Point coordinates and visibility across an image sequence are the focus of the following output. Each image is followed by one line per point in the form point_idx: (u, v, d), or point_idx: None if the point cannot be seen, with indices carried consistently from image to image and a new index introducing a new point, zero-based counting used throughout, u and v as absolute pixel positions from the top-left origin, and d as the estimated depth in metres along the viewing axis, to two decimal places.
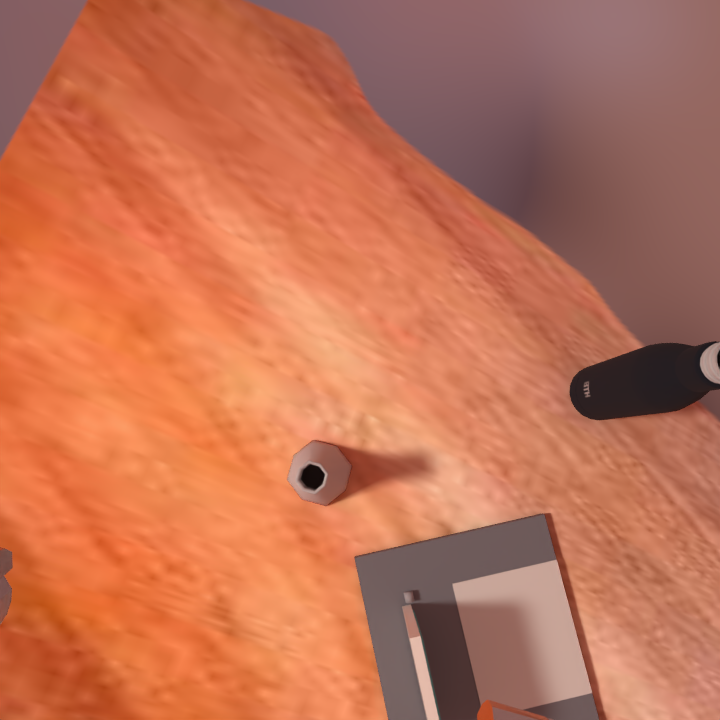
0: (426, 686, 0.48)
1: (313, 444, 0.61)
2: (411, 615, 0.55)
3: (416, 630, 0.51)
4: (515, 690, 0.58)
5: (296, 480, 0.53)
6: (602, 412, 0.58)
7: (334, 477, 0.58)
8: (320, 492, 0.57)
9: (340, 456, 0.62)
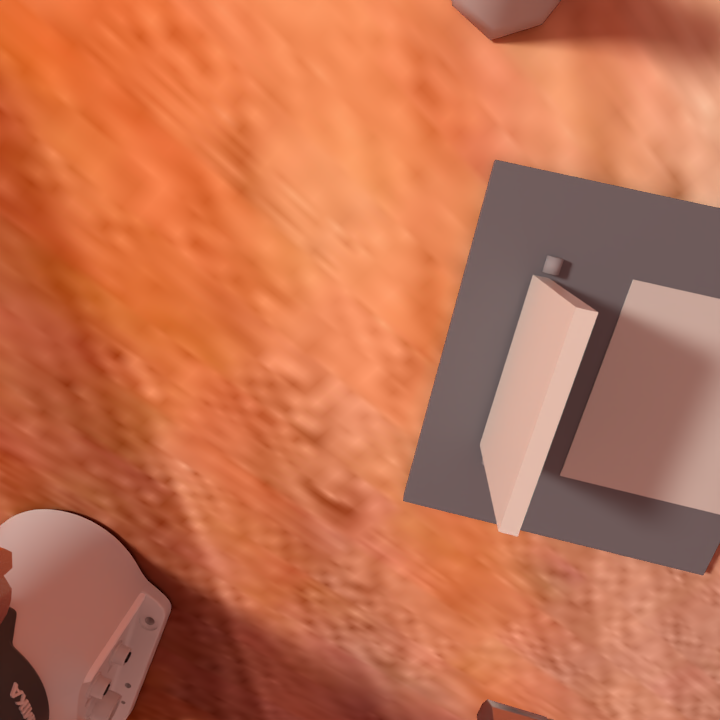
0: (557, 397, 0.25)
1: None
2: (559, 287, 0.30)
3: (583, 304, 0.25)
4: (627, 464, 0.36)
5: None
6: None
7: None
8: None
9: None
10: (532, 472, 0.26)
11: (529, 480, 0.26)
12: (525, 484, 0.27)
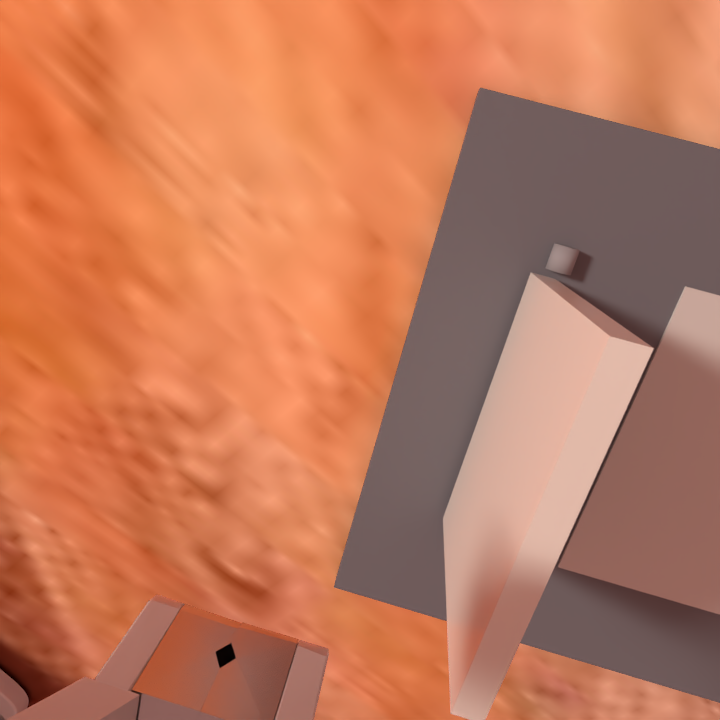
0: (564, 501, 0.13)
1: None
2: (572, 294, 0.18)
3: (620, 328, 0.14)
4: (658, 558, 0.25)
5: None
6: None
7: None
8: None
9: None
10: (512, 625, 0.15)
11: (506, 637, 0.15)
12: (499, 643, 0.15)
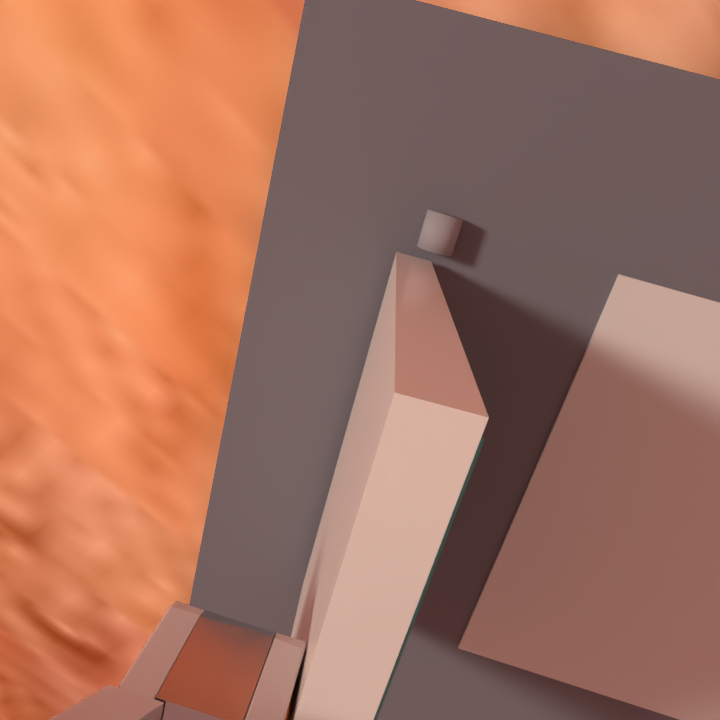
0: (344, 696, 0.07)
1: None
2: (429, 286, 0.11)
3: (454, 359, 0.07)
4: (589, 642, 0.18)
5: None
6: None
7: None
8: None
9: None
10: None
11: None
12: None
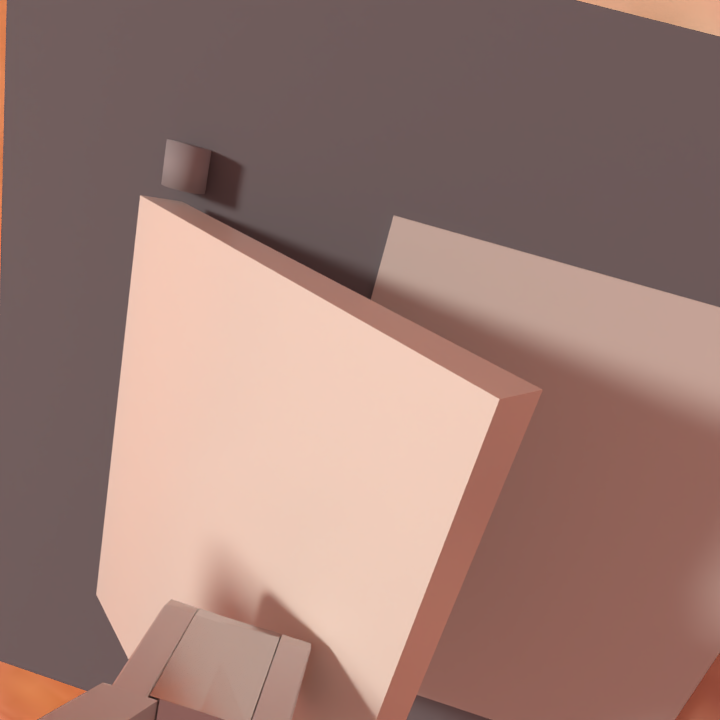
0: (419, 654, 0.08)
1: None
2: (255, 244, 0.10)
3: (434, 338, 0.07)
4: None
5: None
6: None
7: None
8: None
9: None
10: None
11: None
12: None
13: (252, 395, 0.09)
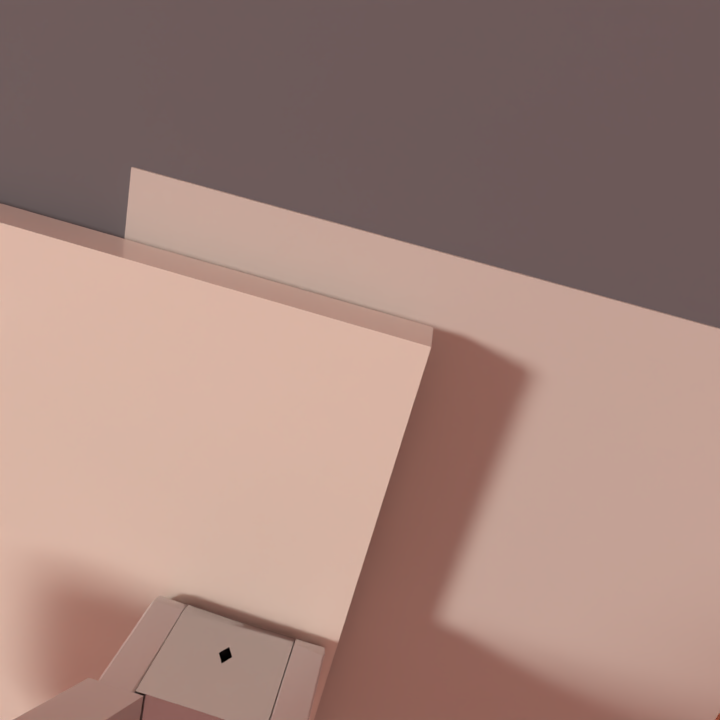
0: None
1: None
2: (21, 214, 0.08)
3: (322, 299, 0.08)
4: None
5: None
6: None
7: None
8: None
9: None
10: None
11: None
12: None
13: (96, 403, 0.08)
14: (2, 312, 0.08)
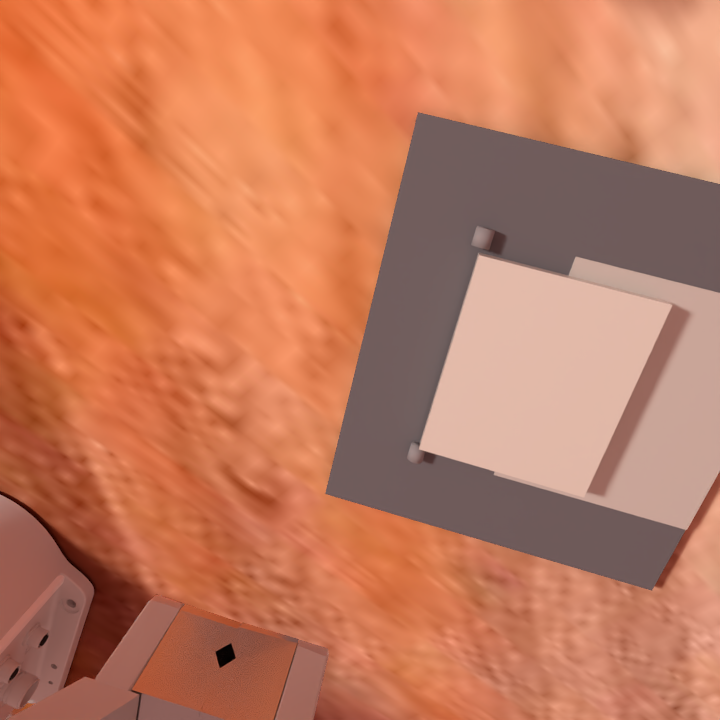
0: None
1: None
2: (548, 271, 0.28)
3: (635, 293, 0.28)
4: None
5: None
6: None
7: None
8: None
9: None
10: None
11: None
12: None
13: (570, 323, 0.28)
14: (548, 298, 0.28)
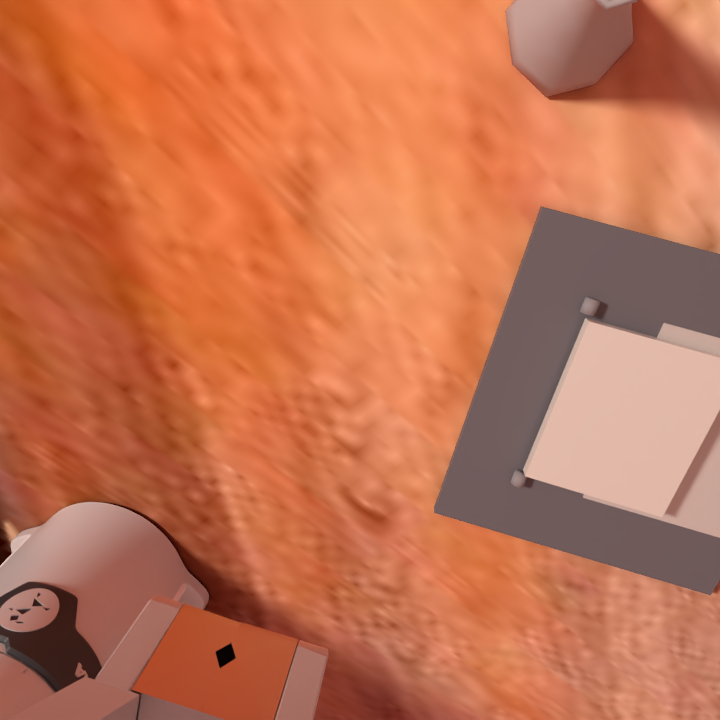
0: None
1: None
2: (642, 334, 0.35)
3: (712, 353, 0.35)
4: None
5: None
6: None
7: (620, 25, 0.27)
8: (581, 41, 0.27)
9: None
10: None
11: None
12: None
13: (660, 376, 0.35)
14: (643, 356, 0.35)
